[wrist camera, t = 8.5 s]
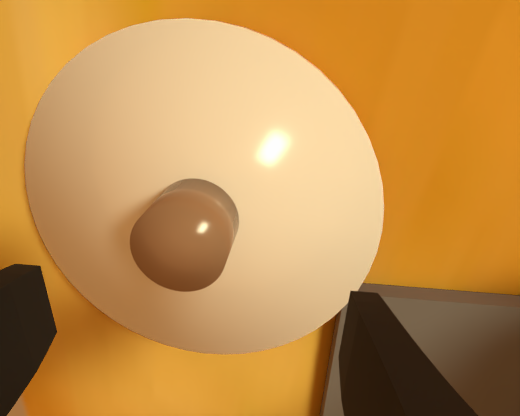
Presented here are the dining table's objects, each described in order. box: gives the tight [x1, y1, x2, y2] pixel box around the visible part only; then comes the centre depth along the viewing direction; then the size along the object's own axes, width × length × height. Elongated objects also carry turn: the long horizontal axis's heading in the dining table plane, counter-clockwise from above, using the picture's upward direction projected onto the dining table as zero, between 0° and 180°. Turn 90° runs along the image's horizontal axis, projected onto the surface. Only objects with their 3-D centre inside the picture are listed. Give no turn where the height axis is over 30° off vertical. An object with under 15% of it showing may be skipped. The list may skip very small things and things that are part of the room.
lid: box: [25, 18, 384, 354], centre depth 18 cm, size 17×17×4 cm
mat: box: [320, 283, 520, 416], centre depth 24 cm, size 15×15×1 cm
